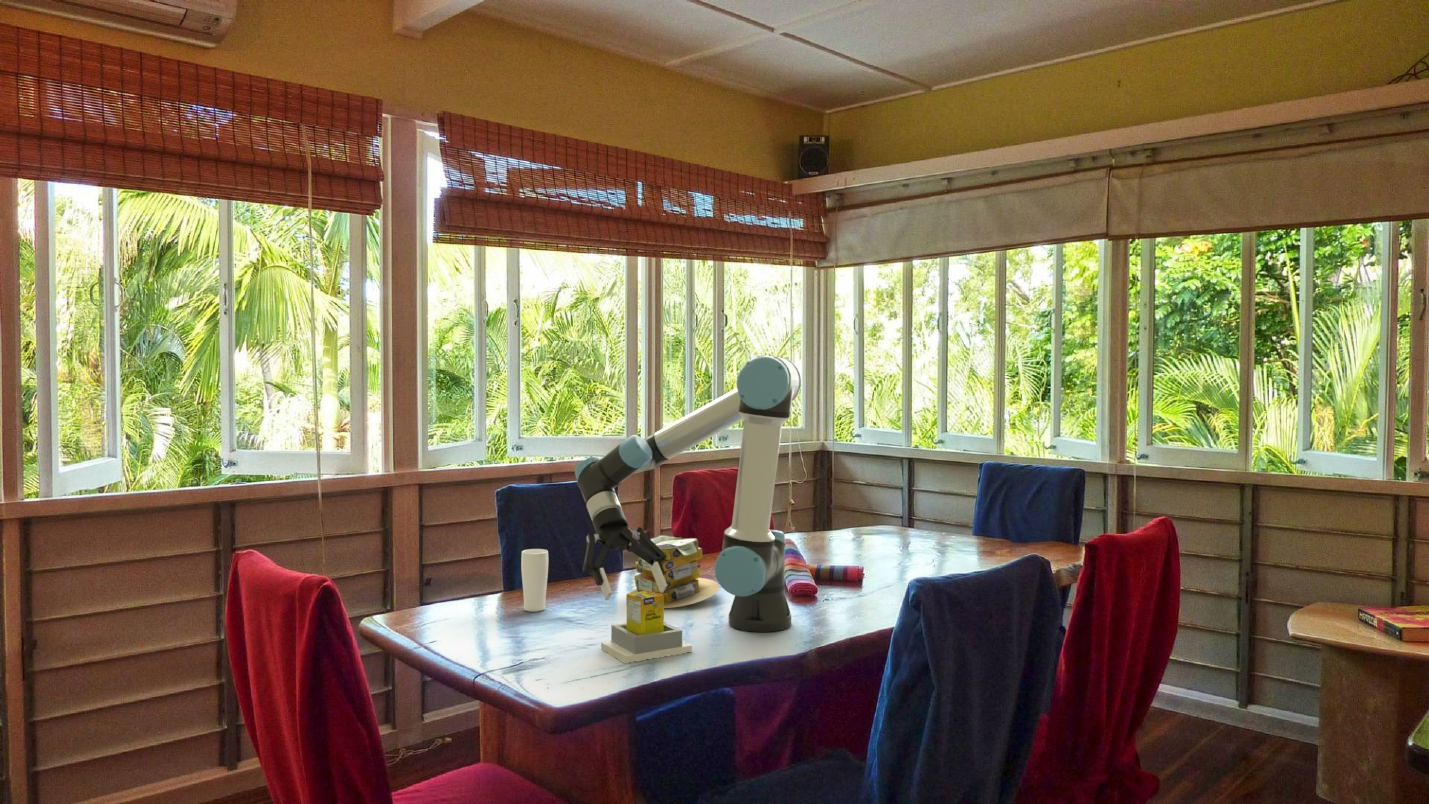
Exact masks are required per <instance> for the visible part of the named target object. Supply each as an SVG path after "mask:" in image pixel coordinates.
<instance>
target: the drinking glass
mask: <svg viewBox="0 0 1429 804" xmlns="http://www.w3.org/2000/svg"><path fill="white" fill-rule="evenodd" d="M520 560H521V562H520V566H521V567H520V568H521V581H522V590H523V591H522V592H523V593H522V594H523V609H524V611H525V612H530V613H532V612H533V613H537V612H542V611H544V610H545V608H546V599H547V598H546V597H547V585H548V575H549V551H548V550H547V549H543V548H530V549H524V550H522V551H521V557H520Z"/></svg>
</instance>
